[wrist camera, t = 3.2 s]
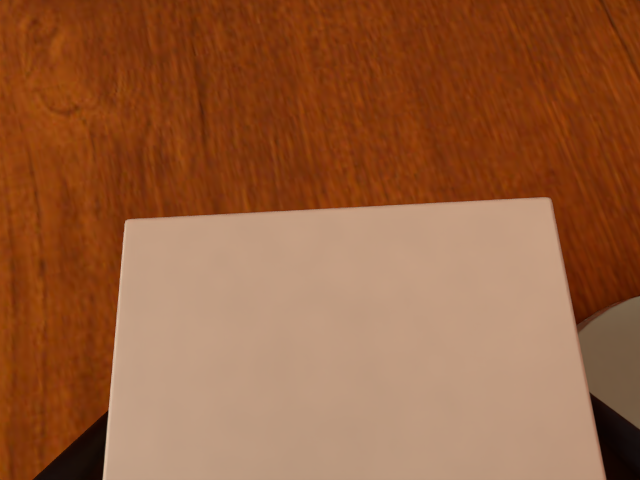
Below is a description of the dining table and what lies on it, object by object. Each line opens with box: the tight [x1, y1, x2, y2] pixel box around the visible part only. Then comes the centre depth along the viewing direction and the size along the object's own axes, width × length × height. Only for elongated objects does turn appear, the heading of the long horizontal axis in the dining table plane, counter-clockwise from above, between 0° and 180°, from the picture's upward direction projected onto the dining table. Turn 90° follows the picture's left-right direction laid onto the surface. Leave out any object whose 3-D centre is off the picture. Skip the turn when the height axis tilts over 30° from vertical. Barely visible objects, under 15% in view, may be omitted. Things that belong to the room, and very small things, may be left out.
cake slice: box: [103, 197, 606, 480], centre depth 10 cm, size 7×5×13 cm
